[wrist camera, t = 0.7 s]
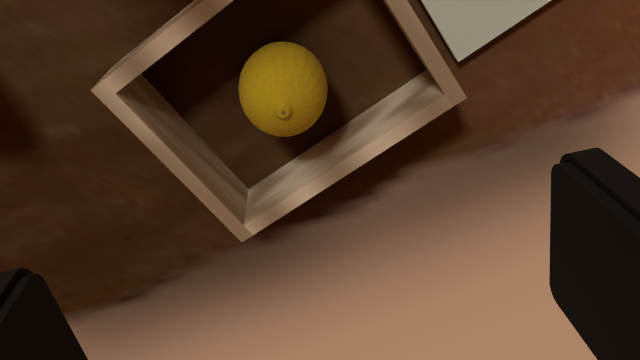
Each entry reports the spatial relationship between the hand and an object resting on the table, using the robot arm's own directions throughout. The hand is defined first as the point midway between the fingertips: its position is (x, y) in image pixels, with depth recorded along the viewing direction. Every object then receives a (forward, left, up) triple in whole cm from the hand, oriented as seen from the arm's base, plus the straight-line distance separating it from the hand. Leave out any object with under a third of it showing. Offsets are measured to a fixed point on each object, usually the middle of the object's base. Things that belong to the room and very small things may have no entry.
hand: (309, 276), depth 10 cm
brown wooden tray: (+4, +4, -28) cm, 29 cm away
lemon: (+4, +4, -29) cm, 29 cm away
